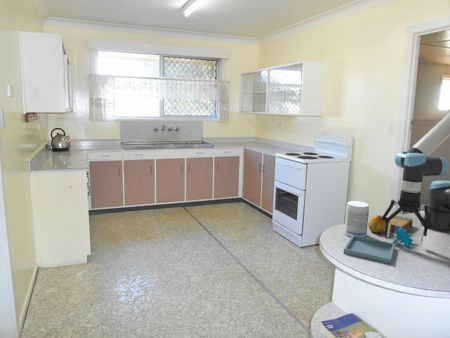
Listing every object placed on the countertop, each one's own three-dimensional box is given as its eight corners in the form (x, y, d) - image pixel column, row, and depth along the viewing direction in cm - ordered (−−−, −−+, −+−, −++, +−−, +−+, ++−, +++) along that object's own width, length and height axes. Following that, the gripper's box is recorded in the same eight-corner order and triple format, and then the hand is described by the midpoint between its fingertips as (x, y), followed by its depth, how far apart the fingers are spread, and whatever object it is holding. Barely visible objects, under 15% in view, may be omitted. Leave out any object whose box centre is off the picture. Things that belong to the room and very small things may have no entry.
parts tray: (394, 248, 148) (395, 243, 147) (389, 264, 133) (390, 259, 133) (352, 239, 156) (352, 235, 156) (343, 253, 142) (343, 248, 141)
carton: (382, 230, 168) (383, 222, 167) (394, 222, 180) (395, 214, 179) (401, 235, 163) (402, 226, 162) (412, 227, 174) (413, 218, 173)
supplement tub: (370, 238, 158) (374, 206, 155) (351, 239, 156) (354, 207, 153) (358, 230, 167) (361, 200, 164) (339, 231, 165) (342, 201, 162)
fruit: (384, 232, 159) (386, 215, 161) (365, 229, 163) (367, 213, 166) (387, 236, 165) (389, 219, 168) (368, 233, 170) (370, 217, 172)
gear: (405, 247, 145) (392, 225, 150) (393, 253, 149) (381, 231, 154) (419, 245, 151) (407, 224, 156) (408, 251, 155) (396, 230, 160)
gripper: (378, 188, 150) (372, 236, 154) (445, 197, 138) (437, 249, 142) (380, 184, 156) (375, 230, 161) (444, 193, 144) (437, 242, 149)
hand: (404, 239), depth 151 cm, fingers open, 12 cm apart
